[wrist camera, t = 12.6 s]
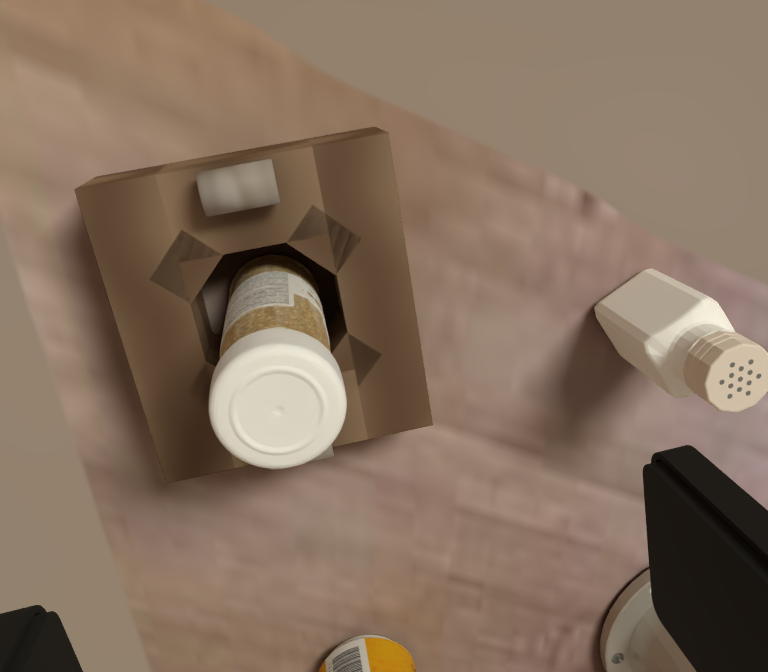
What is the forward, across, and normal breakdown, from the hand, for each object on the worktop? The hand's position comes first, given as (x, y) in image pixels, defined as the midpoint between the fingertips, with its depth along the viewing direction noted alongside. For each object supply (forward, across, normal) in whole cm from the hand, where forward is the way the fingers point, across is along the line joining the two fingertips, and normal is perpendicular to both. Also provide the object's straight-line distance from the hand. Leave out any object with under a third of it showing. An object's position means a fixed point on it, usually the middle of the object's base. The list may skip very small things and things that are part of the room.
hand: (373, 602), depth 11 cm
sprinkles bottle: (+26, +2, +2) cm, 26 cm away
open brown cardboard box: (+26, +2, +2) cm, 26 cm away
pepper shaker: (+26, -17, +7) cm, 32 cm away
